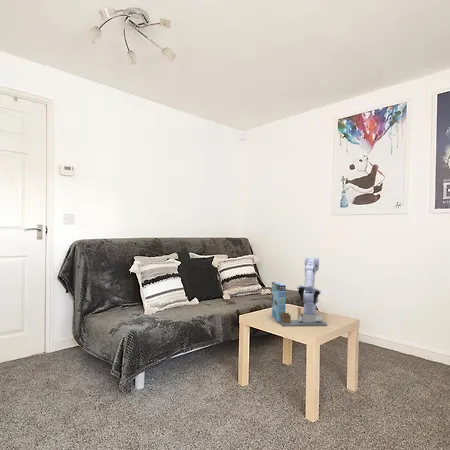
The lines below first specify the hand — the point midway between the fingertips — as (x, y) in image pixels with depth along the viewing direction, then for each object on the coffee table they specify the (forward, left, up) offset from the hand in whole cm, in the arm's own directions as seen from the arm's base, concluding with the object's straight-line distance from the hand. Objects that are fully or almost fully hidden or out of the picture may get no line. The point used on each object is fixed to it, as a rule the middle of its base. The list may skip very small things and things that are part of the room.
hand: (308, 301), depth 199 cm
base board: (-3, -3, -14) cm, 15 cm away
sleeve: (-3, +1, -13) cm, 14 cm away
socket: (-3, -13, -14) cm, 20 cm away
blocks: (-3, +2, -12) cm, 13 cm away
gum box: (-15, -15, -15) cm, 26 cm away
